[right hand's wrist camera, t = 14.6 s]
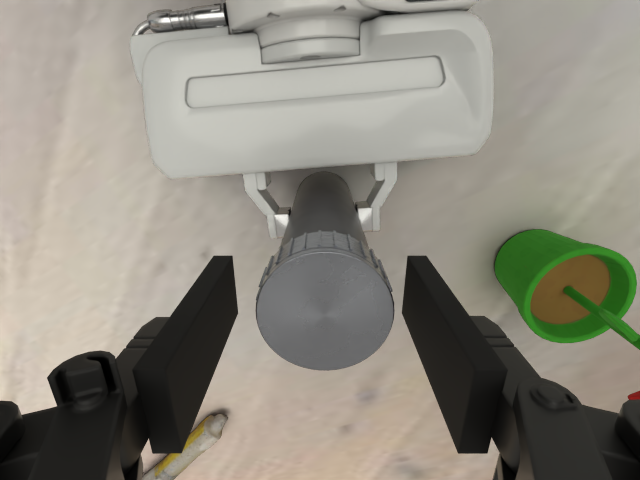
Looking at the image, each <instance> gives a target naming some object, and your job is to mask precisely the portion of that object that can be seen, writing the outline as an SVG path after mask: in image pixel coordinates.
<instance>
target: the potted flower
mask: <svg viewBox="0 0 640 480" xmlns="http://www.w3.org/2000/svg"><path fill="white" fill-rule="evenodd" d="M495 274H496V277H497V279H498V281H499V282H500V284H501V285H502V286H503V288H504V289H505V291H506V292H507V293H508V295H509V296H510V297H511V299H512V300H513V301H514V303H515V304H516V305H517V307H518V310H519V313H520V314H521V316H522V318H523V319H524V321H525V322H526V323H527V325H528V326H529V327H530V329H531V330H532V331H533V332H534V333H535V334H537V335H538V336H540V337H541V338H543V339H546V340H549V341H552V342H558V343H574V342H580V341H584V340H588V339H591V338H594V337H596V336H598V335H600V334H602V333H604V332H605V331H607V330H608V329H610V328H611V329H613V330H614V331H615V332H617V333H618V334H619V335H621V336H622V337H623V338H625V339H626V340H627V341H629V342H630V343H631V344H633V345H634V346H635V347H637V348H638V349H639V350H640V335H638V334H637V333H636V332H635V331H634V330H633V329H632V328H631V327H630V326H629V325H628V324H626V323H625V322H624V321H623V320H621V318H622V317H623V316H624V315H625V313H626V312H627V311H628V309H629V307H630V306H631V304H632V302H633V299H634V296H635V294H636V286H637V281H636V274H635V272H634V269H633V267H632V265H631V264H630V263H629V261H628V260H627V259H626V258H625V257H623V256H622V255H621V254H619V253H617V252H615V251H612V250H610V249H607V248H604V247H601V246H598V245H594V244H588V243H581V242H578V241H576V240H573V239H570V238H567V237H564V236H561V235H559V234H556V233H553V232H550V231H547V230H542V229H534V230H529V231H525V232H522V233H519V234H517V235H515V236H514V237H512V238H511V239H509V240H508V241H507V242H506V243H505V244H504V245H503V246H502V248H501V249H500V251H499V252H498V255H497V257H496V261H495ZM628 399H629V400H637V399H640V391H638V392H635V393H633V394H630V395H629V396H628Z"/></svg>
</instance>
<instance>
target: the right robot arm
mask: <svg viewBox="0 0 640 480" xmlns="http://www.w3.org/2000/svg"><path fill="white" fill-rule="evenodd" d="M237 314H238V307H237V297H236V287H235V277H234V267H233V257H232V256H213V258H212V259H211V261H210V262H209V263H208V265H207V266H206V267H205V269H204V270H203V272H202V273H201V274H200V276H199V277H198V279H197V280H196V281H195V283H194V284H193V286H192V287H191V288H190V290H189V291H188V293H187V294H186V295H185V297H184V298H183V300H182V301H181V302H180V304H179V305H178V306H177V308H176V309H175V311H174V312H173V313H172V315H171V316H170V317H156V318H154V319H153V320H151V321H150V322H148V323H147V324H145V325H144V326H142V327H141V329H140V330H139V331H138V332H137V334H136V335H135V336H134V339H132V340H131V341H130V342H129V343H128V345H127V346H126V348H124V350H123V351H122V352H121V353H120V354H119V356H118V357H117V358H116V359H115V356H114V355H112V354H111V353H110V352H105V351H93V352H87V353H84V354H80V355H77V356H75V357H73V358H71V359H68V360H66V361H64V362H63V363H62V364H60V365H59V366H58V367H56V368H55V369H54V370H53V371H52V372H51V373H50V375H49V376H48V377H47V379H48V381H49V384H50V387H51V390H52V393H53V395H54V398H55V401H56V404H57V407H53V408H49V409H45V410H41V411H37V412H32V413H28V414H24V415H21V413H20V410H19V408H18V405H16V404H15V403H13V402H12V401H0V480H142V474H143V462H142V457H141V452H142V450H143V448H144V446H145V444H146V442H147V440H148V438H149V441H150V445H151V449H152V453H182V452H183V449H184V447H185V444H186V442H187V439H188V437H189V434H190V432H191V429H192V427H193V424H194V422H195V419H196V417H197V414H198V412H199V409H200V407H201V404H202V402H203V399H204V397H205V394H206V392H207V389H208V387H209V384H210V382H211V379H212V377H213V374H214V372H215V369H216V367H217V364H218V362H219V359H220V357H221V354H222V352H223V349H224V347H225V344H226V342H227V339H228V337H229V334H230V332H231V329H232V327H233V324H234V322H235V319H236V317H237ZM402 314H403V317H404V319H405V322H406V324H407V327H408V329H409V332H410V334H411V337H412V339H413V342H414V344H415V347H416V349H417V352H418V354H419V357H420V359H421V362H422V364H423V367H424V369H425V372H426V374H427V377H428V379H429V382H430V384H431V387H432V389H433V392H434V394H435V397H436V399H437V402H438V404H439V407H440V409H441V412H442V414H443V417H444V419H445V422H446V424H447V427H448V429H449V432H450V434H451V437H452V439H453V442H454V444H455V447H456V449H457V452H458V453H488V449H489V445H490V441H491V437H492V439H493V441H494V442H495V444H496V446H497V448H498V450H499V452H500V454H499V457H498V461H497V465H496V469H495V472H494V476H493V480H640V399H637V400H628V401H627V402H625V403H624V404H623V405H622V408H621V410H620V413H619V414H618V413H614V412H610V411H605V410H601V409H597V408H593V407H588V406H585V405H582V404H581V403H580V401H579V400H578V398H577V397H576V396H575V395H574V394H572V393H571V392H570V391H569V390H568V389H566V388H564V387H563V386H561V385H559V384H557V383H555V382H552V381H549V380H546V379H543V378H541V377H540V376H539V375H538V374H537V372H536V371H535V370H534V369H533V368H532V366H531V365H530V364H529V363H528V361H527V360H526V359H525V358H524V357H523V355H522V354H521V353H520V352H519V350H518V349H517V348H516V347H514V344H513V343H512V342H511V341H510V339H509V338H507V336H506V335H505V333H504V332H503V331H502V330H501V328H500V327H499V326H498V325H497V324H495V323H494V322H492V321H491V320H489V319H488V318H486V317H485V316H469V315H468V313H467V312H466V311H465V309H464V308H463V306H462V305H461V304H460V302H459V301H458V300H457V298H456V297H455V295H454V294H453V293H452V291H451V290H450V288H449V287H448V286H447V284H446V283H445V281H444V280H443V279H442V277H441V276H440V274H439V273H438V272H437V270H436V269H435V268H434V266H433V265H432V263H431V262H430V261H429V259H428V258H427V256H408V257H407V267H406V277H405V287H404V297H403V307H402Z"/></svg>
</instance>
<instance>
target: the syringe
mask: <svg viewBox="0 0 640 480" xmlns="http://www.w3.org/2000/svg"><path fill="white" fill-rule="evenodd" d="M227 419H228V417H227V416H226V415H223V414H217V415H216V416H213V415H210V416H208V417H207V418H205V419H204V420H203V421H202V422H201V423H200V424H199V425H198V427H197V428H196V429H195V430H194V431H193V432H192V433H191V434H190V435H189V437H188V439H187V442H186V444H185V447H184V449H183V452H182V453H169V454H168V455H167V456H166V457H165V458H164V459H163V460H162V461H160V462H159V463H158V464H157V465H156V466H155V467H153V468H152V469H151V470H150V471H149V472H148V473H146V474H145V475H144V476H142V480H174V479H175V478H176V477H177V476H178V475H179V474H180V473H181V472H182V471H183V470H184V469H185V468H186V467H187V466H188V465H189V464H190V463H191V462H192V461H193V460H194V459H195V458H197V457H198V456H199V455H200V454H202V453H203V452H204V451H205V450H207V449H208V448H210V447H211V446H212V445H213V444H214V443H216V441H217V440H219V439H220V437H221V434H222V429H223V426H224V424H225V422H226V421H227Z"/></svg>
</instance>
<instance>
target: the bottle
mask: <svg viewBox="0 0 640 480" xmlns="http://www.w3.org/2000/svg"><path fill="white" fill-rule="evenodd" d="M318 230H321V231H322V232H333V230H334V231H336V232H337V233H341V234H345V235H347V234H350V237H353V238H355V239H356V240H358V241H360V240H361V241H363V244H364V245H365V246H367V247H368V244H367V241H366V238H365V235H364V232H363V229H362V226H361V223H360V220H359V217H358V214H357V211H356V208H355V205H354V202H353V200H352V197H351V194H350V191H349V188H348V186H347V184H346V183H345V181H344V180H343V179H342V178H340V177H339V176H337V175H336V174H333V173H330V172H317V173H314V174H312V175H310V176H308V177H307V178H305V179H304V180H303V182H302V183H301V184H300V186H299V188H298V191H297V194H296V197H295V201H294V204H293V207H292V210H291V214H290V217H289V220H288V223H287V226H286V230H285V233H284V236H283V239H282V243H281V246H282V247H283V246H284V245H285V244H287V243H288V242H290V240H291V238H294V239H295V238H297V237H299V236H302V235H304V233H307V234H309V233H313V232H318ZM368 248H369V247H368Z"/></svg>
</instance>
